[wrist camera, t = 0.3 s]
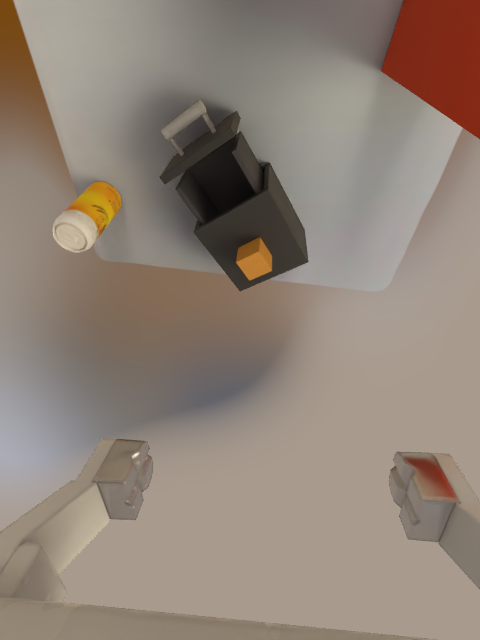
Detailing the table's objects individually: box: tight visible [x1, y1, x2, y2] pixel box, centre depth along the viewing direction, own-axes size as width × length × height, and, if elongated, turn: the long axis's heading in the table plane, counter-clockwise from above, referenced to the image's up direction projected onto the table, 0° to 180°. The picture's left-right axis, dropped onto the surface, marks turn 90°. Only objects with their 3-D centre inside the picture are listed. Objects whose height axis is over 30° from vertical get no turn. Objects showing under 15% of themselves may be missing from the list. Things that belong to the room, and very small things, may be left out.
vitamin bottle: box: [52, 181, 122, 253], centre depth 54 cm, size 6×6×15 cm
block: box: [236, 237, 272, 281], centre depth 51 cm, size 4×4×4 cm
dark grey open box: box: [194, 163, 308, 291], centre depth 56 cm, size 14×14×11 cm
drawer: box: [160, 100, 264, 225], centre depth 49 cm, size 17×13×9 cm
